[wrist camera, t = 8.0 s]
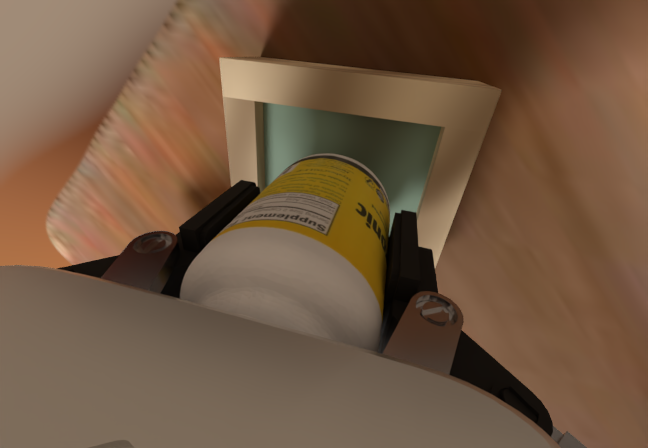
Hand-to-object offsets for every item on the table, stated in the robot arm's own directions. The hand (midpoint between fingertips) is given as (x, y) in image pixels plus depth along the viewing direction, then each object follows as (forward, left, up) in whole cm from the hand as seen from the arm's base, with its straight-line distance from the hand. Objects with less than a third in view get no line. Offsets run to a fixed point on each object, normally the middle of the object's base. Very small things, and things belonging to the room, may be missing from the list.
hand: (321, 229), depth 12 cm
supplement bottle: (0, 0, -2) cm, 2 cm away
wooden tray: (0, 0, -7) cm, 7 cm away
